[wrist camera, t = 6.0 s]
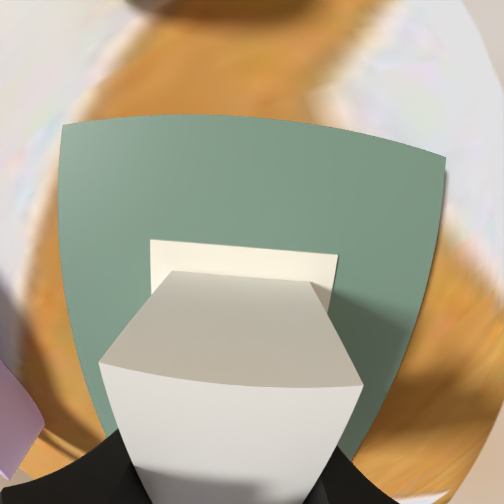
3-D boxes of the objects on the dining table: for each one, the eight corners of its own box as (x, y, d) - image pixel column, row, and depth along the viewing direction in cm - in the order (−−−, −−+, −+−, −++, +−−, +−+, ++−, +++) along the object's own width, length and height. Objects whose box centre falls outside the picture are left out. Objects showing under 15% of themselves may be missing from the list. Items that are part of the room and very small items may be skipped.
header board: (328, 475, 14) (337, 516, 10) (127, 459, 14) (113, 498, 10) (428, 158, 9) (491, 156, 5) (79, 129, 9) (18, 116, 5)
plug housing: (262, 486, 12) (264, 552, 7) (190, 481, 12) (179, 545, 7) (309, 281, 9) (364, 385, 4) (172, 270, 9) (98, 362, 4)
